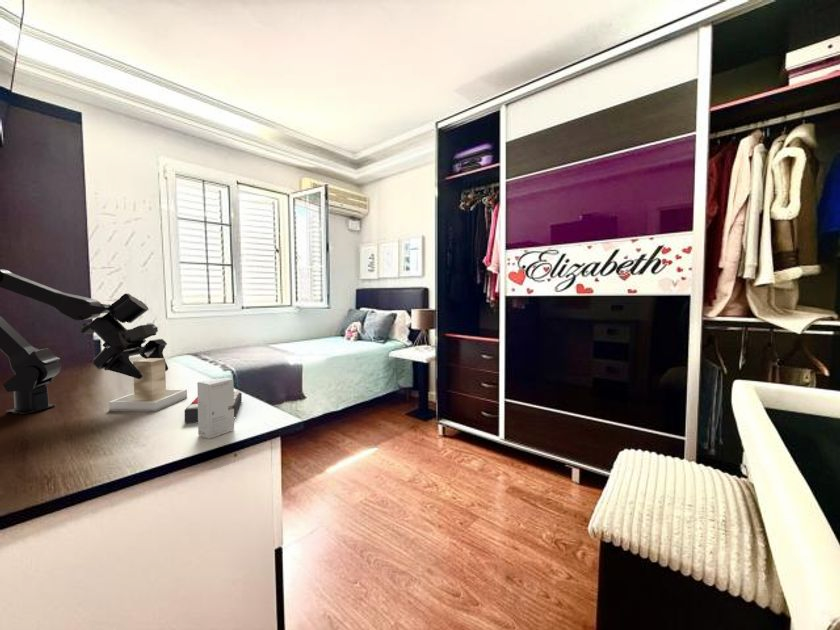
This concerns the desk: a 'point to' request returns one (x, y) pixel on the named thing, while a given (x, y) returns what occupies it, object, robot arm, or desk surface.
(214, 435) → the skincare box
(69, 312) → the robot arm
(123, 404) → the white tray
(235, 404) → the calculator
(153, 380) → the birch block
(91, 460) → the desk surface
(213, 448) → the desk surface
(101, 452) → the desk surface
